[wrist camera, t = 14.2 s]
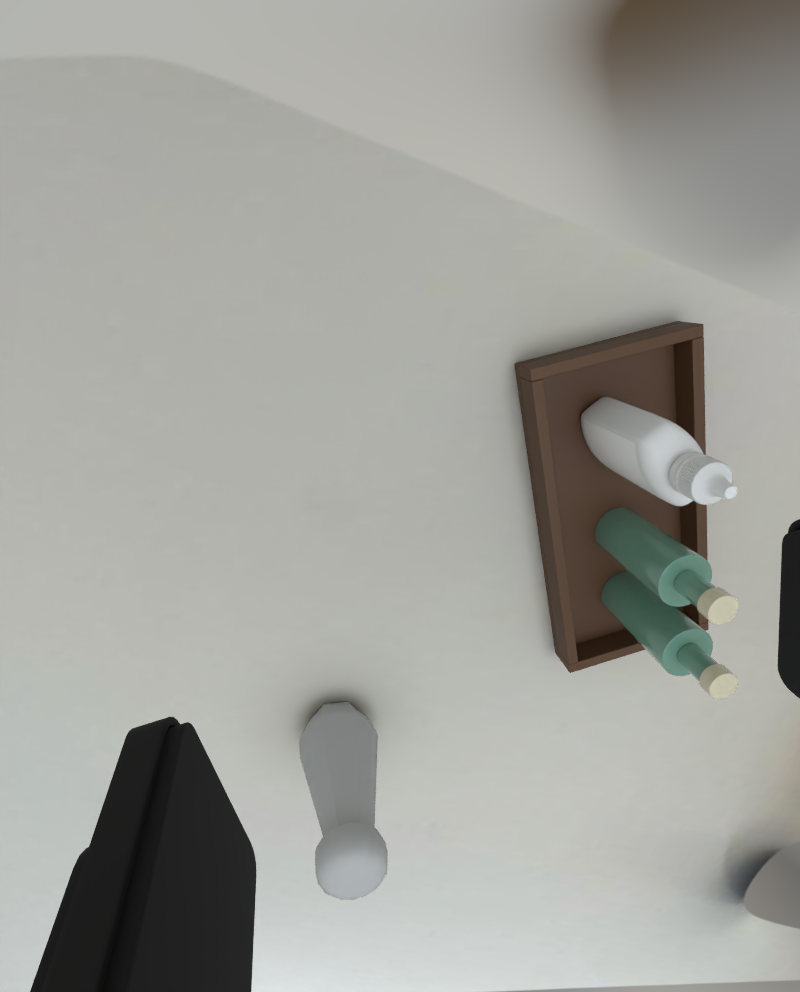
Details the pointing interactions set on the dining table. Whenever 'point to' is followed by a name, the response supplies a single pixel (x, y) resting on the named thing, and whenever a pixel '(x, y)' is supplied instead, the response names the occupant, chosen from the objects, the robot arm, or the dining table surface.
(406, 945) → the dining table surface
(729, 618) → the green bottle
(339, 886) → the salt shaker
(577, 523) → the tray
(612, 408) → the white plastic bottle
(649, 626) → the green bottle
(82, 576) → the dining table surface
